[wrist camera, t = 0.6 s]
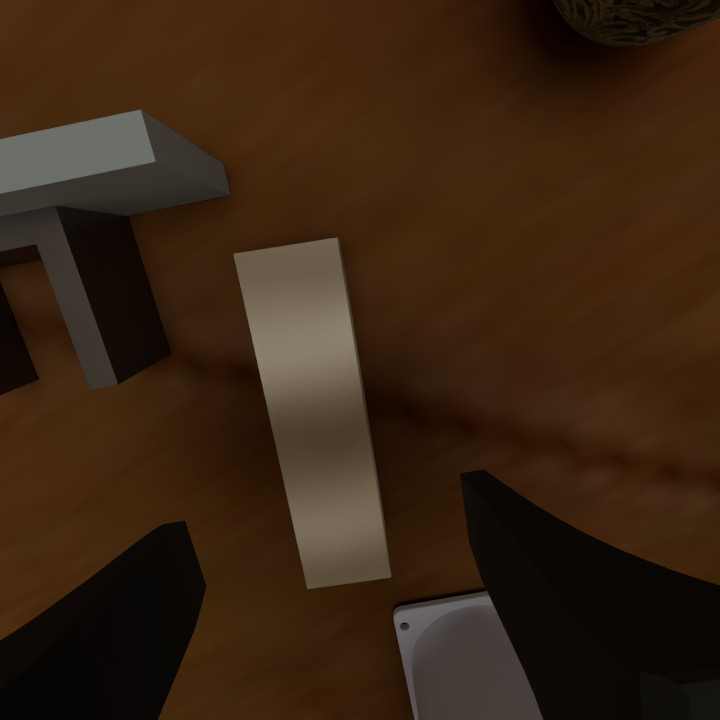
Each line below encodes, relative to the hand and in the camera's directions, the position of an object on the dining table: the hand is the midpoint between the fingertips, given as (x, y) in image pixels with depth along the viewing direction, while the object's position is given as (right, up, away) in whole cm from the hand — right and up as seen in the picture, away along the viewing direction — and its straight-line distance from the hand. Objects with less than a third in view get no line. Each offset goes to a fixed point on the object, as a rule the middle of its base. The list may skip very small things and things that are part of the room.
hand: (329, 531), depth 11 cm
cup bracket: (-12, +6, +8) cm, 15 cm away
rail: (-1, +3, +9) cm, 10 cm away
